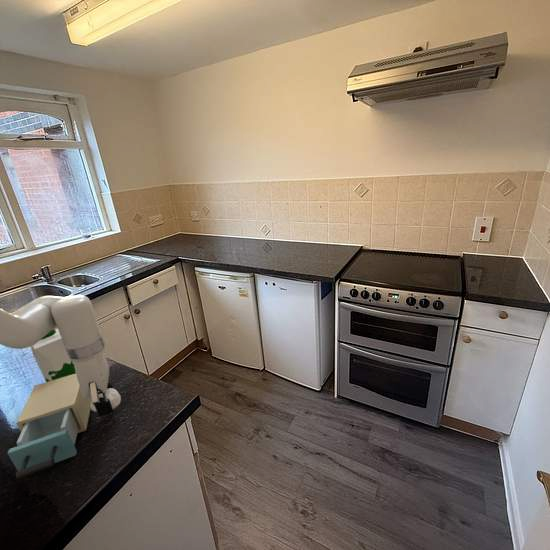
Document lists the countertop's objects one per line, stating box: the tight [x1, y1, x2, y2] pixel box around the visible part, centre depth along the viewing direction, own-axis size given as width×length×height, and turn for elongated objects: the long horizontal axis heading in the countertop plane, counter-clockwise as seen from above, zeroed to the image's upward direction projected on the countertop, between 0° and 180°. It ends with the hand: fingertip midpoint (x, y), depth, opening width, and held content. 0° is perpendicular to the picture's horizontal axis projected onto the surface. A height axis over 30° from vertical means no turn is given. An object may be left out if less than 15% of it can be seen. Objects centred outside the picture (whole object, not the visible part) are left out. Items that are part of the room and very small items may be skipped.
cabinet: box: [15, 374, 92, 434], centre depth 77 cm, size 14×12×9 cm
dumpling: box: [89, 387, 122, 413], centre depth 77 cm, size 7×5×4 cm
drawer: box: [7, 408, 79, 480], centre depth 67 cm, size 18×10×7 cm, turn 23°
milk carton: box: [30, 328, 76, 382], centre depth 87 cm, size 9×9×20 cm
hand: (107, 405), depth 77 cm, fingers closed on dumpling, 5 cm apart
